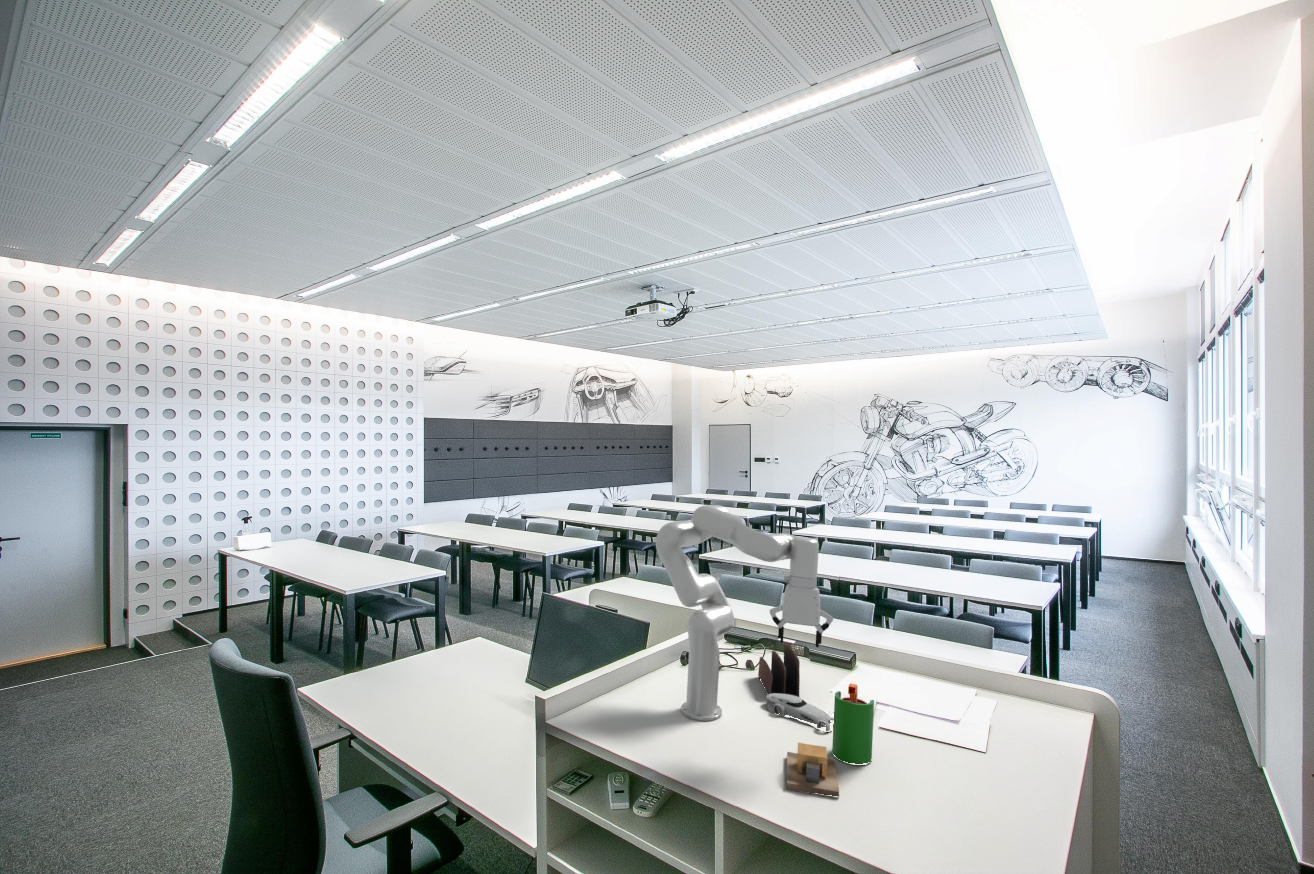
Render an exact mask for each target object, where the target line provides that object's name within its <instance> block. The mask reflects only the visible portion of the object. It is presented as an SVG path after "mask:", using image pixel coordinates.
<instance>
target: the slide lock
mask: <svg viewBox="0 0 1314 874" xmlns="http://www.w3.org/2000/svg"><path fill="white" fill-rule="evenodd" d="M796 753H797V772H800V773H802V761H808V762H814V763H821V771H822V776H823V777H827V758H828V751H827V747H826V746H821V745H816V744H810V743H804V742H803V743H802V742H797V752H796Z"/></svg>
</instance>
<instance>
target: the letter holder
mask: <svg viewBox="0 0 1314 874" xmlns="http://www.w3.org/2000/svg"><path fill="white" fill-rule="evenodd" d="M783 643H784V644H783V660H782V658H781V657H780V655H779V653H778V652H776V651H775V650H771V666H769V664H768V662H767V661H766V660H765V658H764V657H763V656H760V657H759V660H758V661H759V663H758V675H757V677H758V676H759V677H760V679H761V681H762V683H763V685H764V687H765V689H766V691H767V693H768V694H772V693H780V694H788V695H793V696H797V697H800V681H801V680H800V677H801V676H800V673H801V672H800V667H801V666H800V659H799V657H798V655H797V653H796V652H795V651H794V649H793V647H791V646H790V645H789V644H788V643H786V642H783ZM760 679H759V680H760ZM761 681H760V682H761ZM762 683H761V684H762ZM763 685H762V686H763ZM764 687H763V688H764ZM765 689H764V690H765ZM766 691H765V692H766ZM767 693H766V694H767ZM768 694H767V695H768Z"/></svg>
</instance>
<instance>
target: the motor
mask: <svg viewBox="0 0 1314 874" xmlns="http://www.w3.org/2000/svg"><path fill="white" fill-rule="evenodd" d="M847 688H848V689H847V690H848V692H847V694H848V695H849V697H843V698H841V697H842V692H841V691H839V690H838V691H836V692H835V693H834V701H833V702H834V703H833V704H834V705H833V706H834V707H833V712H834V724H833V732H832V746H831V747H832V748H831V753H832V752H833V754H834V755H835V756H836V757H837V758H838V759H840V760H842V761H845V762H848V763H855V764H863V763H868V762H870V761H871V759H873V737H874V735H873V734H874V715H875V713H874V712H875V700H874V699H871V700H869V702H868V703H867V702H866V701H865V700H862V699H861V698H858V684H854V683H849V684H848V686H847ZM833 754H832V755H833ZM838 759H837V760H838ZM840 760H839V761H840ZM842 761H841V762H842ZM871 762H872V761H871Z"/></svg>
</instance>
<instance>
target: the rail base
mask: <svg viewBox="0 0 1314 874" xmlns="http://www.w3.org/2000/svg"><path fill="white" fill-rule="evenodd" d="M835 762H836V761H835V759H834V758H828V757H827V777H823V776H822V771H821V763H819V768H820V772H819V784H815V783H809V782H806V770H805V761H802V773H800V772H797V752H791V751H787V752H786V790H787V791H793V790H794V791H795V792H799V791H801V793H805V792H809V793H808V794H811V793H818V794H824V795H832V796H839V797H840V789H839V783H838V776H837V769H836V763H835Z"/></svg>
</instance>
